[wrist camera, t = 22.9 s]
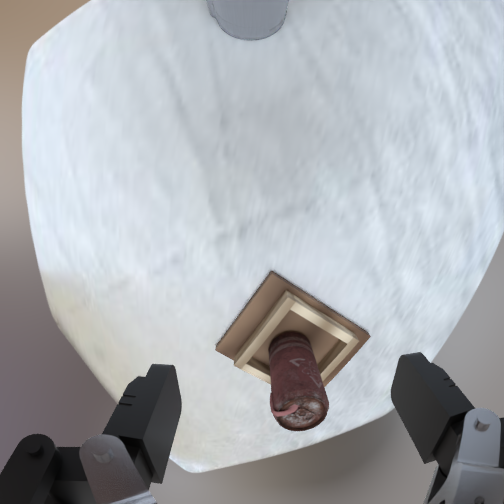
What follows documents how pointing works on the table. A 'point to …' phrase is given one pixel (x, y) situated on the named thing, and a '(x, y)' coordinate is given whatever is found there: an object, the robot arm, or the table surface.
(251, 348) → the tray
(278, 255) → the table surface
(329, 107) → the table surface
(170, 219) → the table surface
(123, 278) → the table surface
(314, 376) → the can
